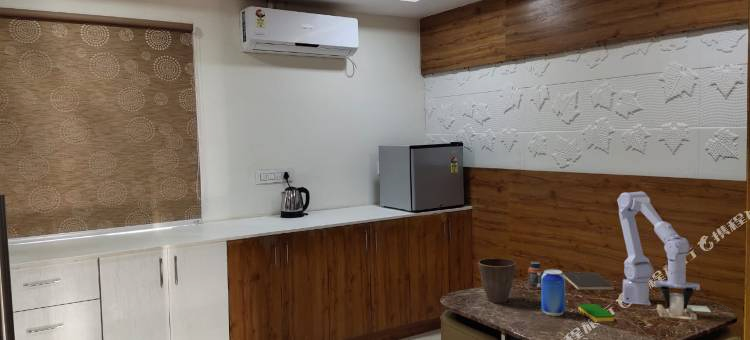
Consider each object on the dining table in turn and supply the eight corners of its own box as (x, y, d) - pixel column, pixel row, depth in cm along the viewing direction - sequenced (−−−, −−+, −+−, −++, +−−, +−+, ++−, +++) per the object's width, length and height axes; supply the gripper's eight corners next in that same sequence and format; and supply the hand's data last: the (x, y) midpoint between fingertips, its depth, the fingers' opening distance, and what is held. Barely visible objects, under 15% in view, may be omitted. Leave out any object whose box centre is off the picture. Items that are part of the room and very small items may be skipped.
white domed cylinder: (669, 315, 194) (670, 296, 194) (666, 309, 201) (666, 291, 200) (685, 316, 193) (685, 297, 192) (681, 310, 199) (681, 292, 198)
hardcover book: (577, 291, 231) (577, 285, 230) (562, 277, 253) (562, 272, 253) (615, 291, 229) (615, 285, 229) (596, 277, 252) (596, 272, 252)
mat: (689, 311, 199) (689, 310, 199) (685, 306, 206) (685, 304, 206) (711, 313, 197) (711, 312, 197) (706, 307, 204) (706, 306, 204)
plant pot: (475, 304, 214) (475, 264, 213) (482, 293, 227) (482, 257, 227) (513, 307, 208) (513, 267, 207) (518, 297, 222) (517, 259, 221)
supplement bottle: (543, 290, 231) (543, 264, 231) (529, 289, 232) (528, 264, 232) (541, 286, 237) (541, 261, 236) (527, 285, 238) (527, 260, 238)
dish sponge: (596, 310, 205) (596, 303, 205) (614, 322, 191) (614, 315, 191) (578, 310, 205) (578, 304, 204) (595, 323, 191) (595, 316, 191)
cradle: (660, 317, 193) (660, 312, 193) (655, 309, 203) (655, 304, 203) (697, 321, 189) (698, 315, 189) (691, 312, 199) (691, 307, 199)
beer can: (564, 310, 204) (564, 269, 203) (565, 317, 196) (565, 275, 195) (541, 308, 206) (541, 268, 205) (541, 315, 198) (541, 273, 197)
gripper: (656, 272, 194) (656, 308, 195) (702, 275, 189) (701, 312, 190) (653, 267, 200) (653, 303, 201) (697, 270, 195) (696, 306, 196)
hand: (676, 307), depth 196 cm, fingers closed on white domed cylinder, 5 cm apart
